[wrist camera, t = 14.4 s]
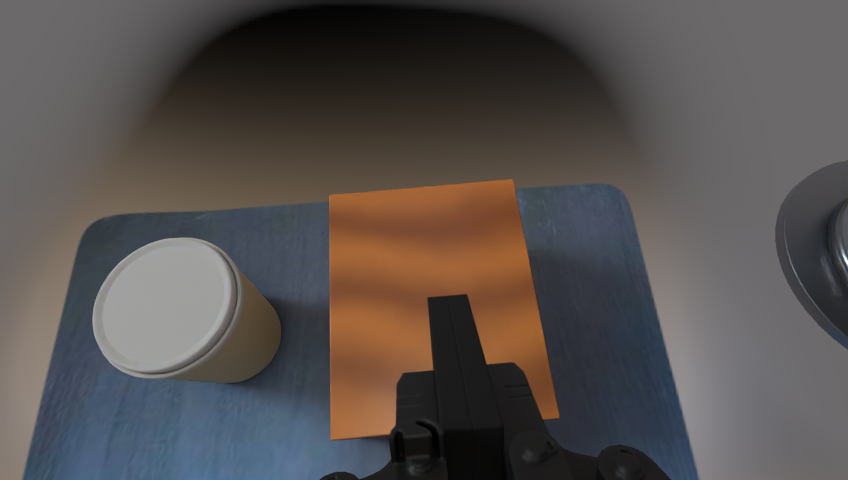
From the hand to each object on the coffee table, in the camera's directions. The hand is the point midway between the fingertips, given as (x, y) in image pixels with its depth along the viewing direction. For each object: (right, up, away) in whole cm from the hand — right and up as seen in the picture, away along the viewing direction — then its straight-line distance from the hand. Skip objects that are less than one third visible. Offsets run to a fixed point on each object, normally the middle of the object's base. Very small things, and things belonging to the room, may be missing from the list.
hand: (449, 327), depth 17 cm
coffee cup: (-17, -5, +23) cm, 29 cm away
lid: (0, -1, +13) cm, 13 cm away
